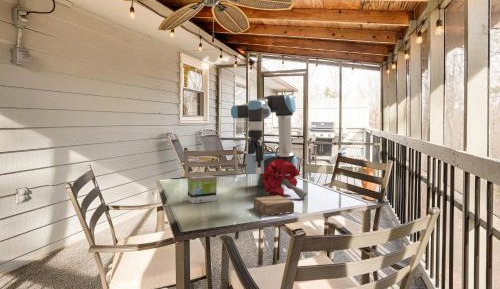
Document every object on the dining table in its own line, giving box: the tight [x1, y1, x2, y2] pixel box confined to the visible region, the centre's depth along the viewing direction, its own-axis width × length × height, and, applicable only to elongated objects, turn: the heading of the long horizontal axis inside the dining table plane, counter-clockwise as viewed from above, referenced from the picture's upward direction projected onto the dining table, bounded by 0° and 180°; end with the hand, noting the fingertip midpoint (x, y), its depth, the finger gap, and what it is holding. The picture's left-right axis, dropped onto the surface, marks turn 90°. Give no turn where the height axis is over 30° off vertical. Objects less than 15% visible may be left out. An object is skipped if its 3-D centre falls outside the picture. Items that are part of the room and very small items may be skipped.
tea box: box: [187, 174, 217, 204], centre depth 187 cm, size 15×10×15 cm, turn 117°
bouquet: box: [262, 160, 308, 200], centre depth 196 cm, size 22×24×30 cm
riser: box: [253, 195, 295, 217], centre depth 168 cm, size 16×16×6 cm
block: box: [246, 153, 265, 175], centre depth 169 cm, size 7×7×10 cm
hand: (255, 172), depth 169 cm, fingers closed on block, 7 cm apart
